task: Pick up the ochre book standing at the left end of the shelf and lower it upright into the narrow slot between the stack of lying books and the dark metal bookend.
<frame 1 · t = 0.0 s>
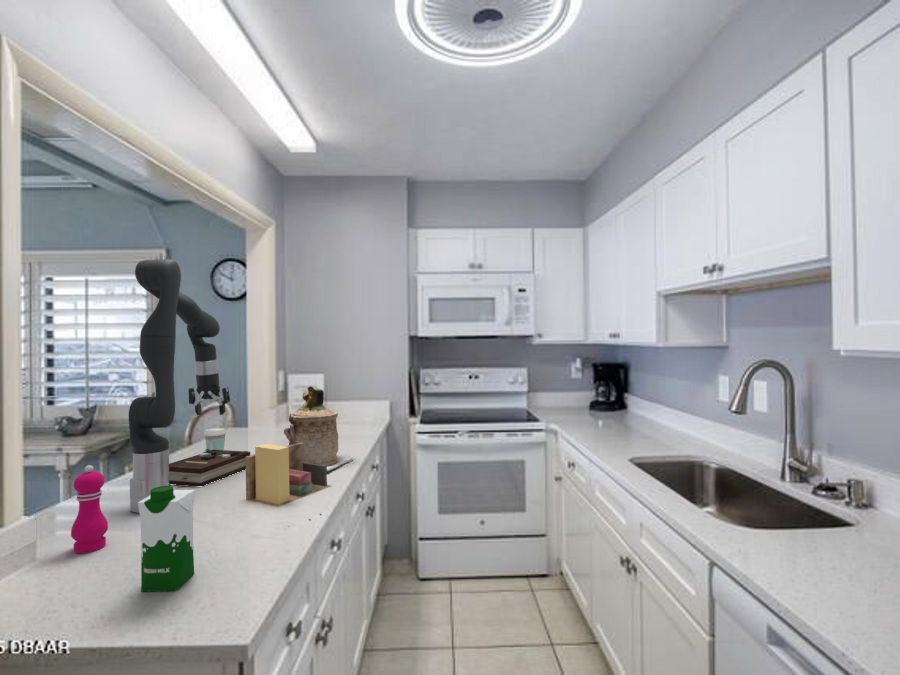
hand: (210, 414, 180), 22 cm above the worktop, tool pointing down, fingers open, 8 cm apart
milk carton: (169, 583, 99), on the worktop
cookie jar: (313, 466, 191), on the worktop
pepper mill: (90, 548, 116), on the worktop
shelf: (290, 497, 152), on the worktop
ochre book: (272, 499, 145), point 1 cm above the worktop, touching shelf
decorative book: (208, 477, 178), on the worktop
coffee cup: (215, 457, 206), on the worktop
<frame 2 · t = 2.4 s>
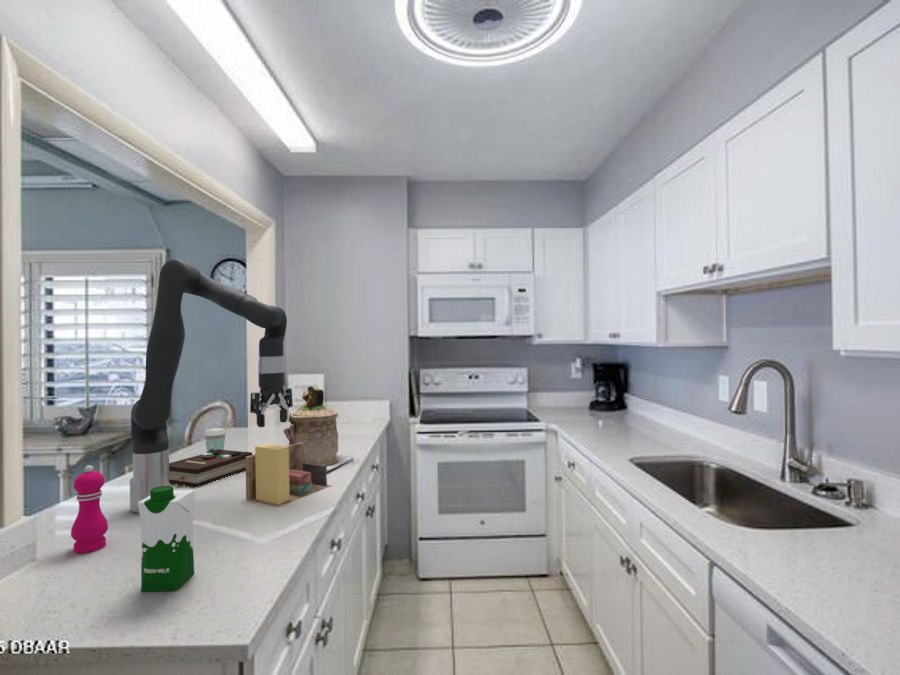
hand: (272, 424, 146), 24 cm above the worktop, tool pointing down, fingers open, 8 cm apart
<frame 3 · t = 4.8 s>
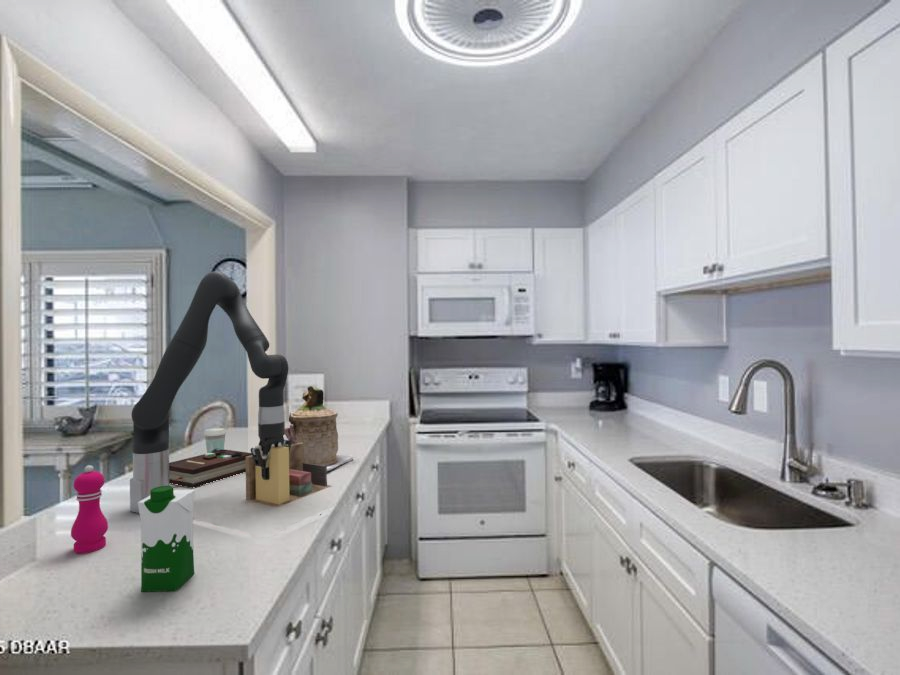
hand: (272, 477, 145), 8 cm above the worktop, tool pointing down, fingers closed on ochre book, 4 cm apart
ochre book: (272, 499, 145), point 2 cm above the worktop, touching gripper, shelf
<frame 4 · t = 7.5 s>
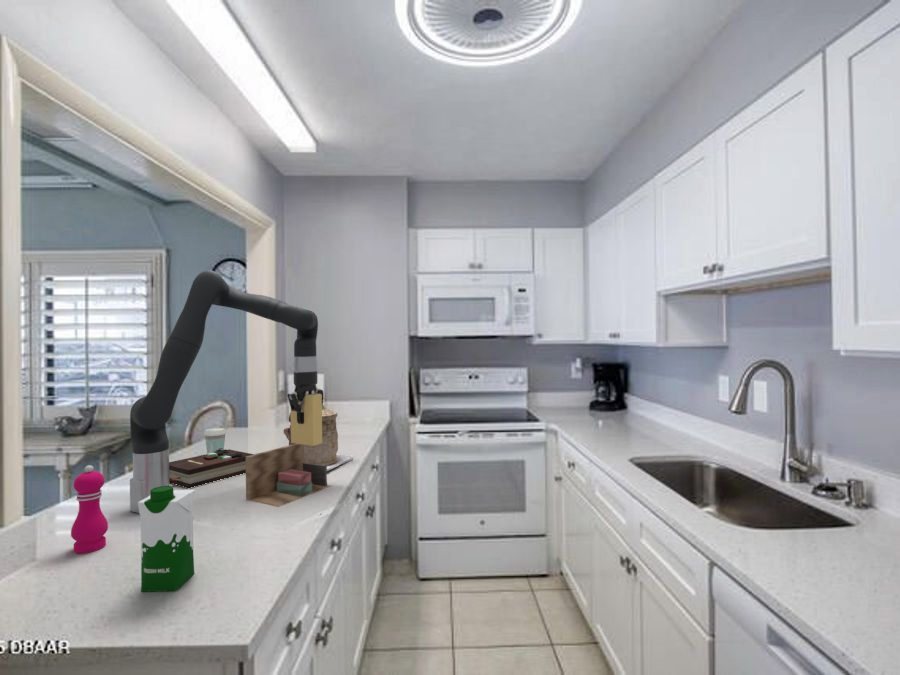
hand: (306, 422, 158), 23 cm above the worktop, tool pointing down, fingers closed on ochre book, 4 cm apart
ochre book: (306, 443, 158), point 16 cm above the worktop, touching gripper
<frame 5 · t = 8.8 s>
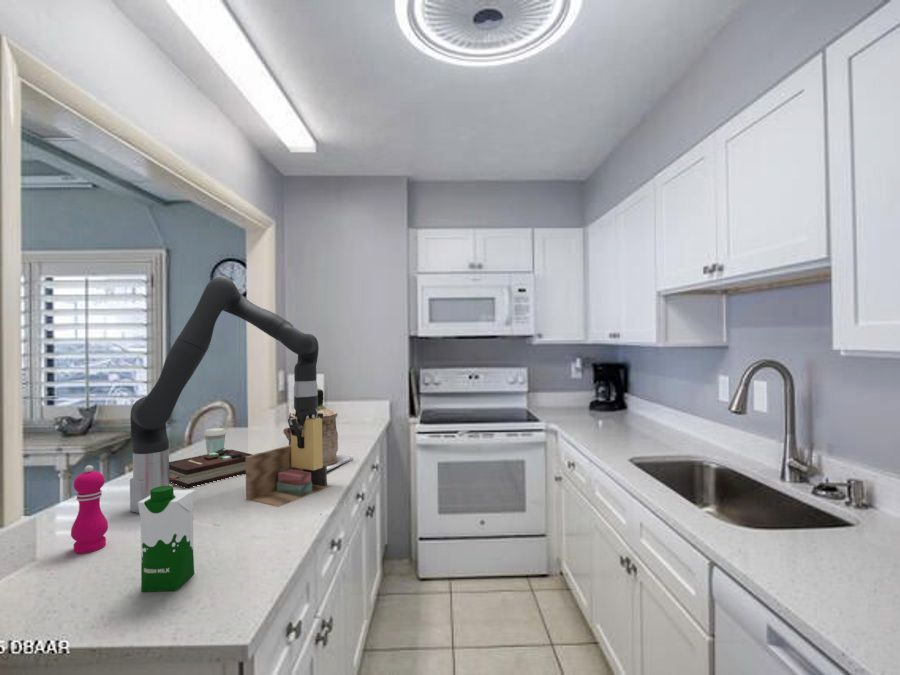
hand: (306, 446, 158), 15 cm above the worktop, tool pointing down, fingers closed on ochre book, 4 cm apart
ochre book: (307, 467, 158), point 8 cm above the worktop, touching gripper
when the fingers open (9 cm above the worktop, at t = 10.2 s): ochre book drops 1 cm, resting on shelf.
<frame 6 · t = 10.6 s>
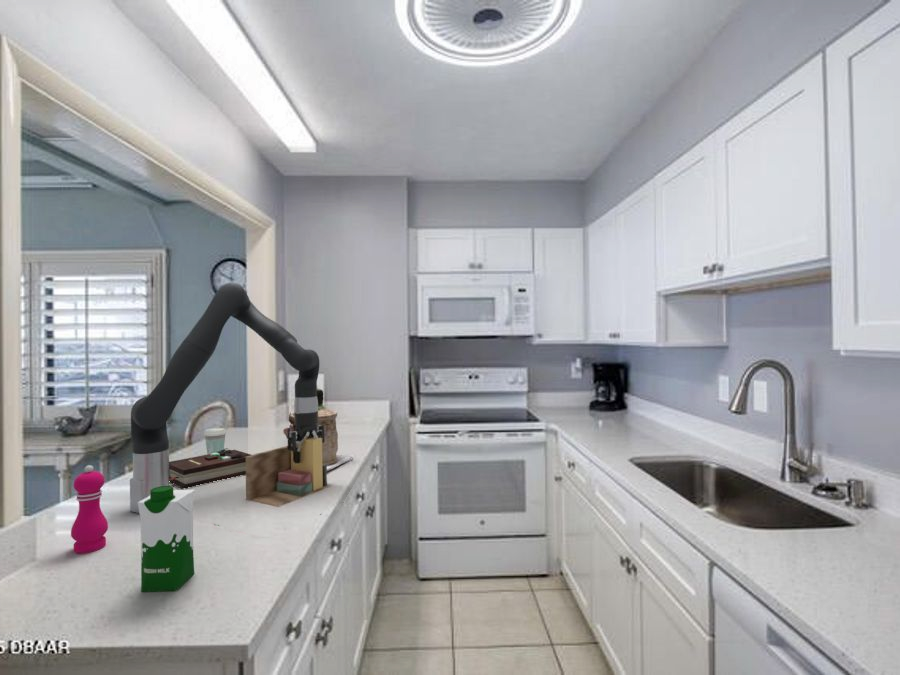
hand: (306, 460, 158), 10 cm above the worktop, tool pointing down, fingers open, 8 cm apart
ochre book: (306, 486, 158), point 2 cm above the worktop, touching shelf
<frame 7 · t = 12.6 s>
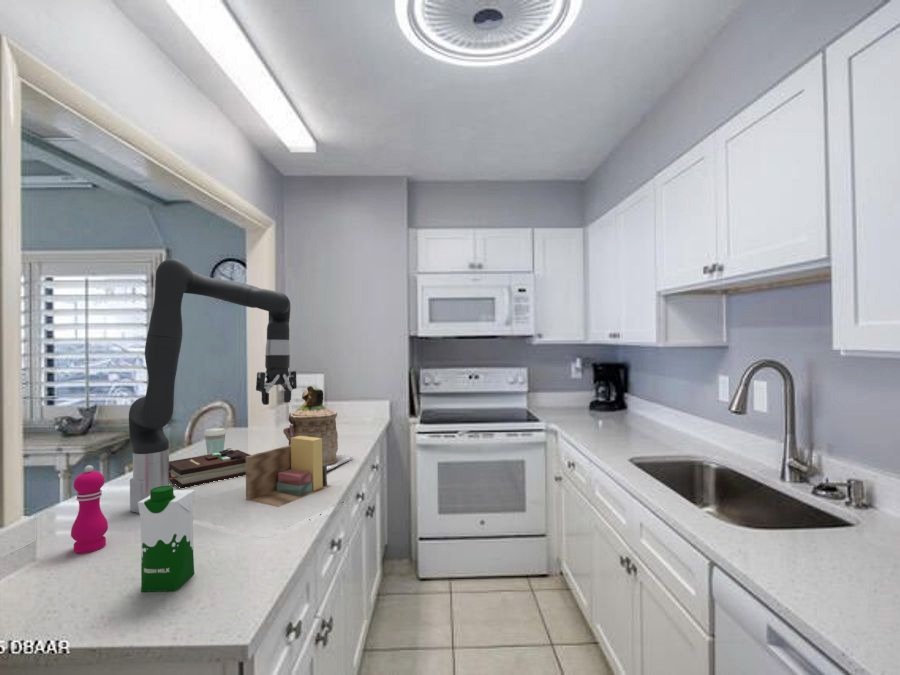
hand: (276, 403, 157), 29 cm above the worktop, tool pointing down, fingers open, 8 cm apart
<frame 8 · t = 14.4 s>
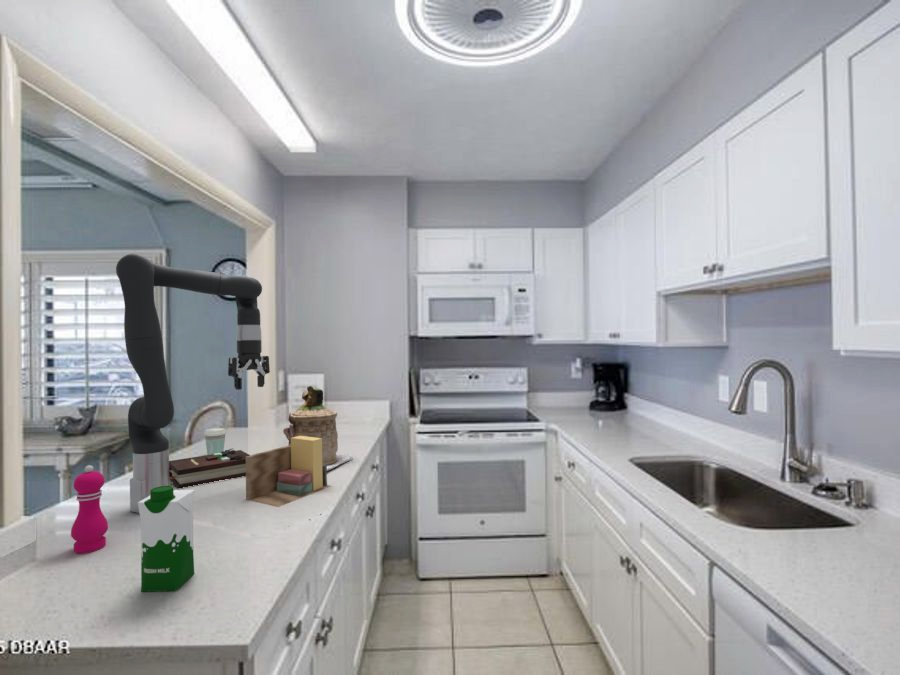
hand: (249, 388, 158), 34 cm above the worktop, tool pointing down, fingers open, 8 cm apart
at the end: ochre book 0.1 cm from the target spot on the shelf, point 1.5 cm above the shelf's base; ochre book tilted 0°; the gripper is holding nothing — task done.
